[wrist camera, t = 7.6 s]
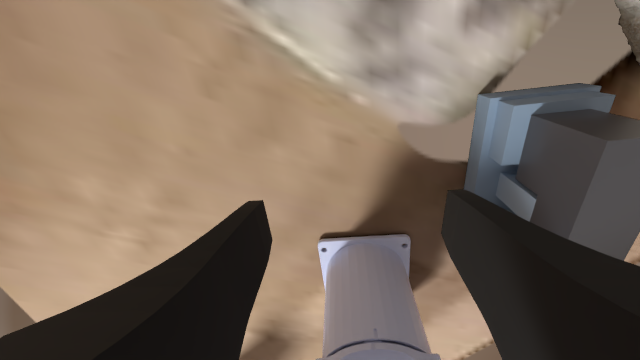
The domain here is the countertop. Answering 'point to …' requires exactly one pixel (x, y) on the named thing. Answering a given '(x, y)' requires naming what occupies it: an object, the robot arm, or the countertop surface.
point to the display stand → (517, 138)
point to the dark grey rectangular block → (585, 177)
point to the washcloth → (630, 23)
